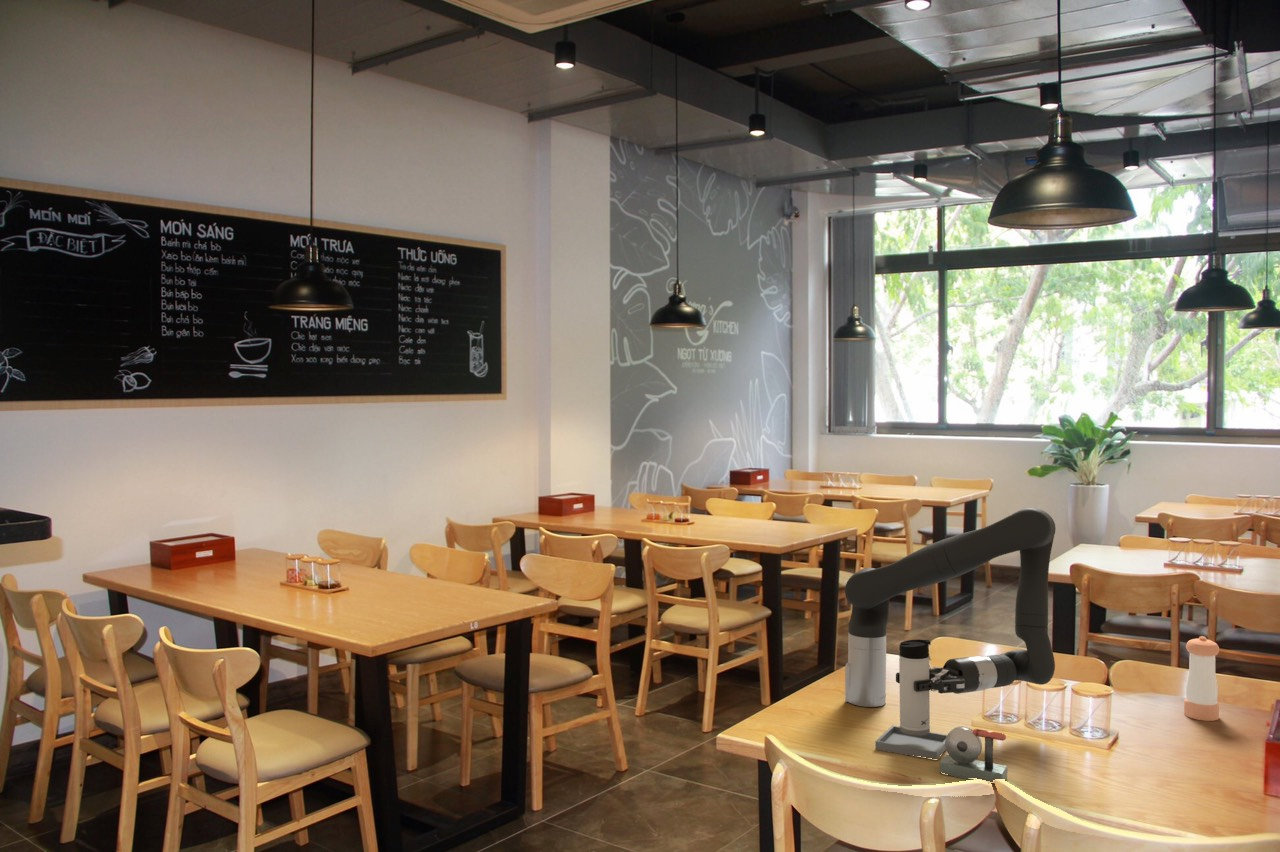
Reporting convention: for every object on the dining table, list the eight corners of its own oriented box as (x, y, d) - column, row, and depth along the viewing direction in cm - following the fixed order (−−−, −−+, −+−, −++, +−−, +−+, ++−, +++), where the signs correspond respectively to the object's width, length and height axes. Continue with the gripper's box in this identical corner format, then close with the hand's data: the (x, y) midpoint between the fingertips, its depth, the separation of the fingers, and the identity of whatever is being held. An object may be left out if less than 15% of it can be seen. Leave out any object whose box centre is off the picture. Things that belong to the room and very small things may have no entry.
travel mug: (932, 737, 214) (931, 644, 213) (900, 735, 215) (899, 643, 214) (930, 727, 220) (929, 637, 219) (899, 725, 221) (898, 636, 220)
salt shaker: (1186, 718, 236) (1187, 638, 236) (1182, 709, 243) (1183, 631, 243) (1221, 722, 234) (1222, 641, 233) (1216, 713, 240) (1217, 634, 240)
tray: (875, 749, 216) (875, 741, 216) (892, 733, 226) (892, 725, 226) (936, 761, 209) (937, 752, 209) (951, 743, 219) (951, 735, 219)
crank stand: (939, 773, 202) (940, 727, 201) (946, 766, 206) (946, 720, 206) (1002, 786, 195) (1003, 737, 195) (1008, 777, 200) (1008, 730, 199)
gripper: (950, 649, 228) (886, 657, 223) (991, 665, 215) (925, 673, 209) (950, 682, 229) (887, 690, 223) (991, 700, 215) (925, 709, 210)
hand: (905, 682), depth 216 cm, fingers closed on travel mug, 6 cm apart
